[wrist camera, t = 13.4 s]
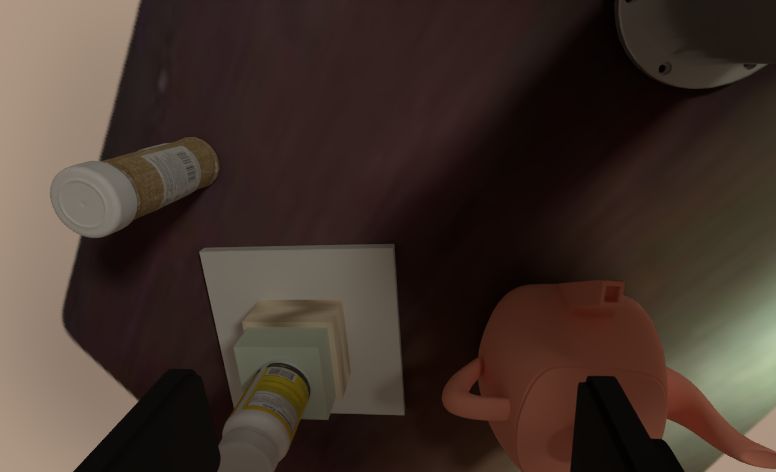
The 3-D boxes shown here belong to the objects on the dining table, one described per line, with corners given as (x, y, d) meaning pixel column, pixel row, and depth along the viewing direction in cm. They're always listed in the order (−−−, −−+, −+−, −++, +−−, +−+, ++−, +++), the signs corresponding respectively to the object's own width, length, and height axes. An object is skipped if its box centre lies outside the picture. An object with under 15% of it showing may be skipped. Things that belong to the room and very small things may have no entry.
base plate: (394, 243, 40) (393, 247, 39) (405, 408, 46) (404, 415, 45) (204, 247, 42) (199, 251, 41) (238, 403, 48) (234, 410, 47)
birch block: (342, 299, 41) (332, 322, 37) (350, 372, 44) (342, 400, 40) (259, 300, 42) (241, 321, 39) (272, 371, 45) (257, 398, 41)
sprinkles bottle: (168, 135, 39) (37, 165, 26) (218, 137, 38) (109, 167, 26) (176, 187, 40) (56, 238, 28) (224, 189, 40) (124, 241, 27)
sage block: (327, 327, 38) (318, 347, 35) (336, 395, 40) (328, 419, 37) (248, 326, 39) (233, 346, 36) (261, 393, 41) (248, 417, 38)
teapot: (569, 218, 37) (634, 293, 25) (690, 349, 40) (804, 476, 28) (429, 330, 42) (424, 438, 30) (545, 438, 45) (585, 580, 33)
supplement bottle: (276, 413, 38) (231, 503, 30) (245, 370, 36) (190, 451, 29) (323, 395, 36) (290, 483, 29) (293, 350, 35) (250, 429, 27)
